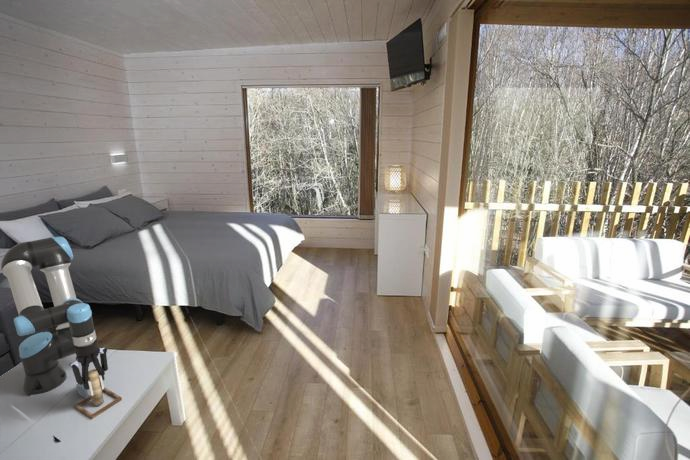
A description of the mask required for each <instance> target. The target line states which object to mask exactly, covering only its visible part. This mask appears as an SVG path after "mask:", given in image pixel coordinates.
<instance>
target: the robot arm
mask: <svg viewBox="0 0 690 460" xmlns="http://www.w3.org/2000/svg"><path fill="white" fill-rule="evenodd" d="M73 259H74V255H73V251H72V248H71V246H70V244H69V241H68V240H67V239H66V238H65V237H63V236H50V237H47V238H46V237H45V238H42V239H37V240H30V241H23V242H20V243H17V244H16V245H13V246H12V247H11V248H10V249H8V250H7V252H6V253H5V254H4V255H3V257H2V261H1V264H0V268H1V272H2V275H3V276H5V277H6V278H7V280H8V284H9V288H10V290H11V294H12V297H13V301H14V303H15V307H16V310H17V312H18V316H16V317H15V318H13V324H14V326H15V330H16V333H17V335H18V336H19V337H23V336H24V337H25V336H28V335H31V336H28V337H27V338H26V339H24V340H23V341H22V342H21V343H20V344H19V346H18V353H19V358H20V359H21V363H22V368H23V370H24V374H25V375H24V376H25V377H24V382H23V391H24V394H26V395H27V396H35V395H42V394H45V393H49V392H51V391H53V390H56V388H58V387H60V386H61V385H62V384H63V383H64V382H65V381H66V380H67V377H68V376H67V372H66V370H65V369H64V368H63V367H62V366H61V364H60V363H59V360H61V359H64V358H67V357H69V356H72V355H75V356H76V357H75V360H74V361H73V362H70V363H69V365H68V366H69V367H70V368H71V369H72V373H73V377H74V378H75V381H76V384H80V385H82V384H83V386H84V389H86V390H87V392H88V394H89V395H91V396H93V395H94V394H93V390H92V385H91V382H90V381H89V380H88V372H89V367H90V364H91V363H92V364H93V366H94V368H95V369H96V370H97V371H98V376H99V381H100V385H101V389H102V390H103V389H104V387H105V385H104V381H105V375H106V372H107V371H108V369H109V366H108V365H109V364H108V358H107V357H108V356H107V353H108V348H105V347H103V346H102V347H99V342H98V339H97V334H96V329H95V325H94V319H93V315H92V314H93V312H92V309H91V306H90V305H89V304H88V303H84V302H83V301H82V300H81V299H79V298H77V295H76V292H75V288H74V284H73V281H72V277H71V274H70V273H71V272H70V270H69V267H70V265H71V264H72V263H71V261H72V260H73ZM33 268H39V271H41V272H43V273H44V275H45V278H46V281H47V285H48V288H49V292H50V297H51V300H52V303H53V307H48V308H44V305H43V304H42V300H41V298H40V295H39V292H38V289H37V285H36V284H35V280H34V278H33V275H32V272H31V271H32V269H33ZM55 327H56V328H55ZM50 328H51V329H52V328H55V330H56V333H51V332H49V331H45V330H47V329H50ZM43 331H44V332H43ZM35 333H36V334H35ZM98 356H99V357H98ZM98 358H100V359H98ZM99 360H100V362H99ZM79 364H80V365H81V370H80V368H79Z"/></svg>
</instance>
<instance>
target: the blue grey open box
mask: <svg viewBox="0 0 690 460" xmlns="http://www.w3.org/2000/svg"><path fill="white" fill-rule="evenodd" d="M76 389H77V390H76V391H77V393H78V395H80V396H82V397H83V398H84V399H86V398H88V397H89V396H91V395H89V394H88V392H87V390H86V389H84V386H83V384H82V385H80V384H78V383H76Z"/></svg>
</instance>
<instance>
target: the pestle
mask: <svg viewBox="0 0 690 460" xmlns="http://www.w3.org/2000/svg"><path fill="white" fill-rule="evenodd" d="M88 380H89V381H90V382H91V385H92V390H93V394H94V395H93V396H92V400H91V401H92V403H93V406H95V407H98V406H101V405H102V404H104V402H105V400H104V395H103V393H102V390H101V385H100V381H99V376H98V371H97V370H96V368H95V369H91V370H88Z"/></svg>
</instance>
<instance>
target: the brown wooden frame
mask: <svg viewBox="0 0 690 460" xmlns="http://www.w3.org/2000/svg"><path fill="white" fill-rule="evenodd" d="M101 390H102V389H101ZM103 393H105V394H107V395H108V396H111V398H112V397H113V398H114V400H112V401H111V402H109V403H107V404H106V405H105V406H102V407H101V408H99V409H98V410H97V411H95V412H93V413H91V412H90V411H88V410H87V409H86V408H84V407H82V406H84V405H85V404H87V403H88V402H89V403H90V401H93V400H92V396H89V397H88V398H84V399H83V400H81V401H79V402H78V403H76V404H75V405H74V408H75V409H76V410H77V411H79V412H81V413H82V414H84V416H87V417H88V418H89V419H91V420H93V419H95V418H96V417H99V415H101V414H103V413H104V412H106V411H108V410H109V409H110V408H112V407H113V406H114V405H117V404H119V403H120V402H121V401H123V400H122V397H121V396H120V395H118V394H116V393H115V392H113V391H111V390H110V389H108V388H107V387H105V386H104V389H103V390H102V394H103Z"/></svg>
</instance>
